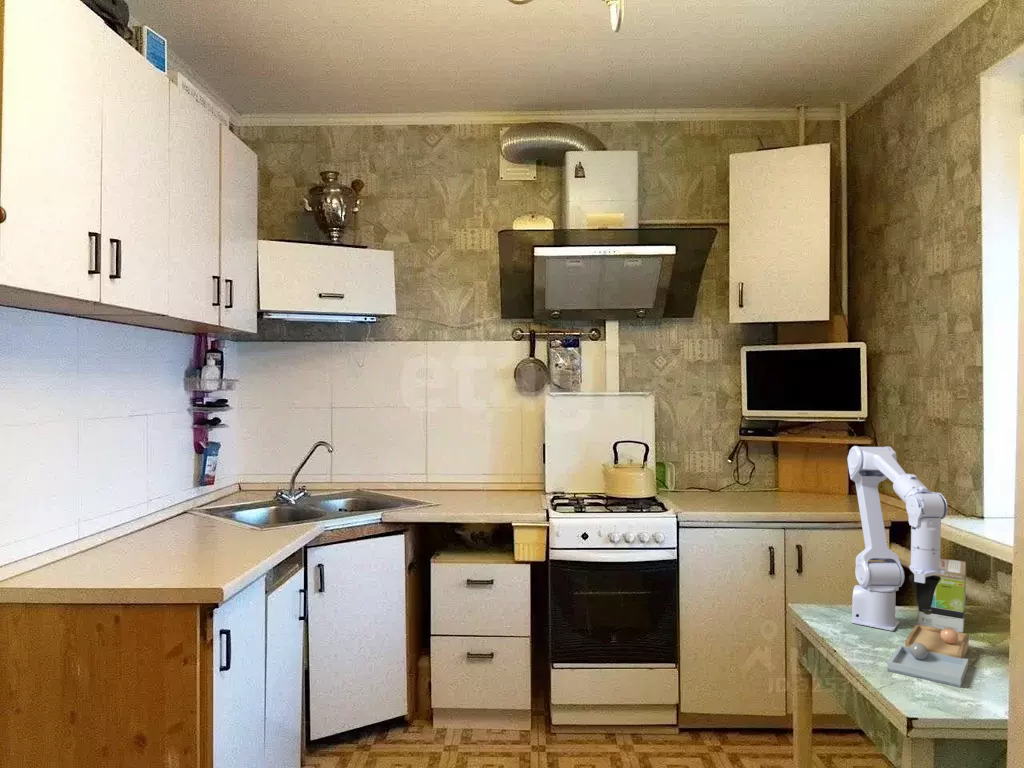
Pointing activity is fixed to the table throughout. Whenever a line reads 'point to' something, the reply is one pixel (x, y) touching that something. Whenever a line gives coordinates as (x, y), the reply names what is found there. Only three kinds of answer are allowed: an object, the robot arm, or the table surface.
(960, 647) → the oak tray
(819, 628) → the table surface
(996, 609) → the table surface
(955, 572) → the tea box
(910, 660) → the ceramic dish
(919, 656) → the pebble grey
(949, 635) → the pebble terracotta
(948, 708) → the table surface
